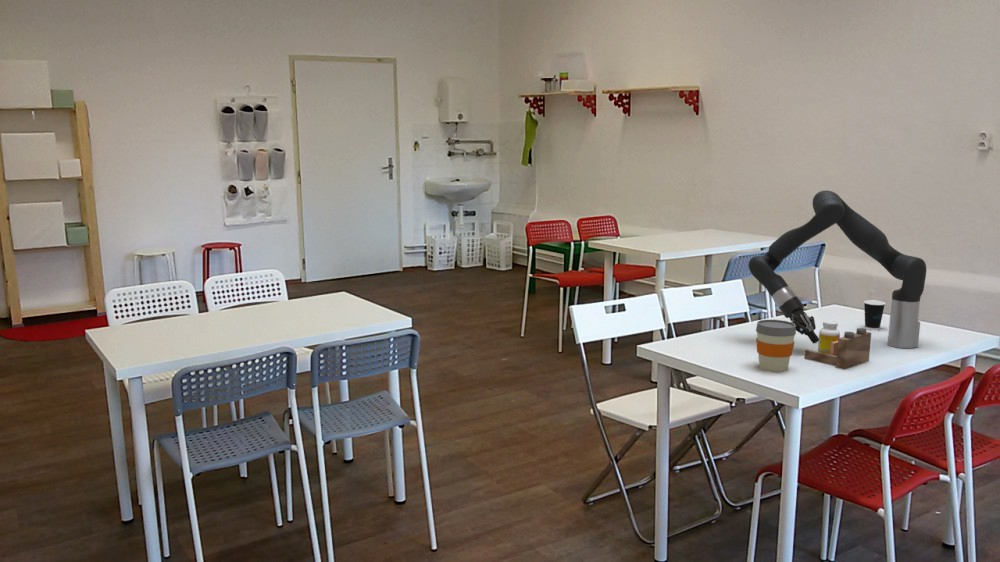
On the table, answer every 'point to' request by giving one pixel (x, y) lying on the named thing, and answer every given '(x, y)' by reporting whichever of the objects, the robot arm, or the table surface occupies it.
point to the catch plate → (834, 348)
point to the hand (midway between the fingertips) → (816, 342)
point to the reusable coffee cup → (775, 344)
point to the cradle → (846, 350)
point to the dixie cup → (873, 314)
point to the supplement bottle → (828, 336)
